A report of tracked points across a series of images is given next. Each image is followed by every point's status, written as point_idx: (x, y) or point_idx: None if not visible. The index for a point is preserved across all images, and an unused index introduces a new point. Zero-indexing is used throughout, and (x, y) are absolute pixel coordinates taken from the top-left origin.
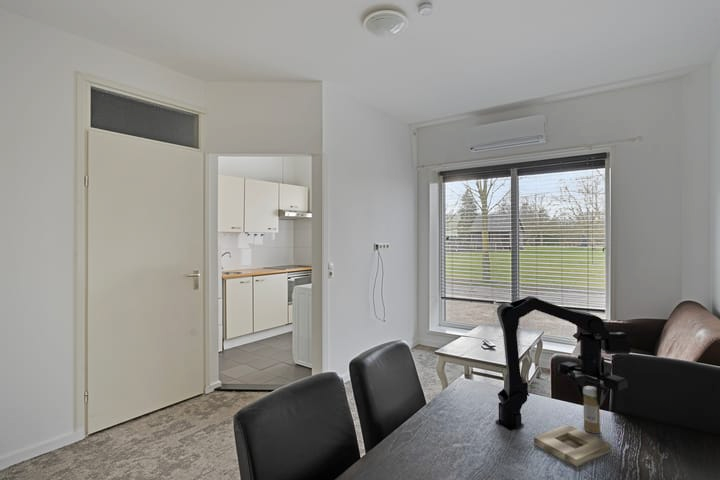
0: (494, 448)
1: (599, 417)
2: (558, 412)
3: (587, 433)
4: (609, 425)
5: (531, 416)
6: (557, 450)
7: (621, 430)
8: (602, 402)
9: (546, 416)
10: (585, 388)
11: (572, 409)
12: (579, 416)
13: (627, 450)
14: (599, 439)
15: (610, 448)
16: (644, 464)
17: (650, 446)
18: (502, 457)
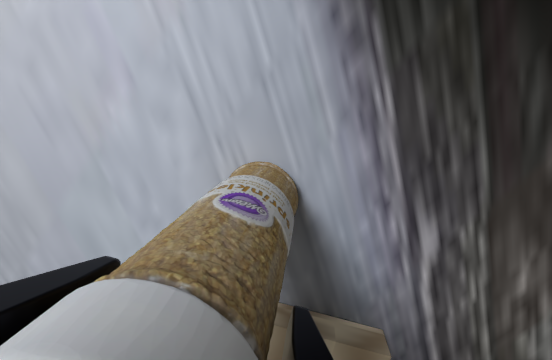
0: None
1: (291, 232)
2: (68, 118)
3: (279, 326)
4: (306, 57)
5: (38, 259)
6: None
7: (374, 71)
8: (317, 337)
9: (68, 211)
10: None
11: (82, 4)
12: (152, 75)
13: (439, 278)
14: (339, 347)
15: (385, 342)
16: (515, 346)
17: (536, 155)
18: None
